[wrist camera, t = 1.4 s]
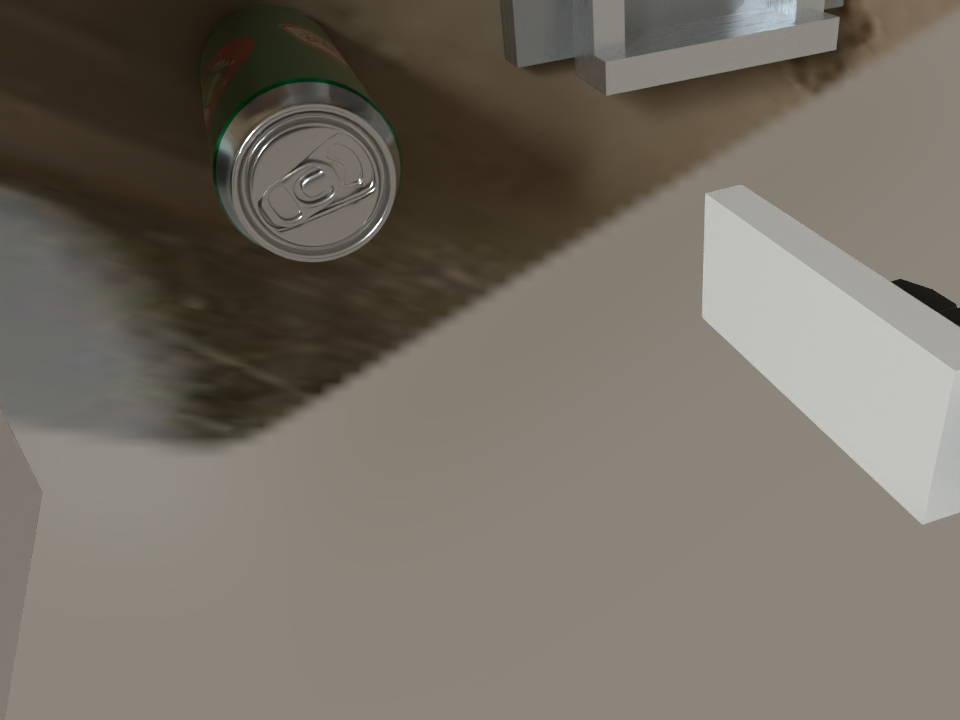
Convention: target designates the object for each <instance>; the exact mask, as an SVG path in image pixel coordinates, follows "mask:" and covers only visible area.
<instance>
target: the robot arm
mask: <svg viewBox="0 0 960 720" xmlns="http://www.w3.org/2000/svg"><path fill="white" fill-rule="evenodd" d="M704 226H705V227H704V261H703V299H702V301H703V302H702V317H703V318H704V319H705V320H706V321H707V322H708V323H709V324H710V325H711V326H712V327H713V328H714V329H715V330H716V331H717V332H718V333H720V334H721V335H722V336H723V337H724V338H725V339H726V340H727V341H728V342H729V343H730V344H731V345H732V346H733V347H734V348H735V349H736V350H737V351H739V352H740V353H741V354H742V355H743V356H744V357H745V358H746V359H747V360H748V361H749V362H750V363H751V364H752V365H753V366H754V367H755V368H757V369H758V370H759V371H760V372H761V373H762V374H763V375H764V376H765V377H766V378H767V379H768V380H769V381H770V382H771V383H772V384H774V385H775V386H776V387H777V388H778V389H779V390H780V391H781V392H782V393H783V394H784V395H785V396H786V397H787V398H788V399H790V401H792V402H793V403H794V404H795V405H796V406H797V407H798V408H799V409H800V410H801V411H802V412H803V413H804V414H805V415H807V417H808V418H810V419H811V420H812V421H813V422H814V423H815V424H816V425H817V426H818V427H819V428H820V429H821V430H822V431H823V432H824V433H825V434H827V435H828V436H829V437H830V438H831V439H832V440H833V441H834V442H835V443H836V444H837V445H838V446H839V447H840V448H841V449H843V451H845V452H846V453H847V454H848V455H849V456H850V457H851V458H852V459H853V460H854V461H855V462H856V463H857V464H858V465H859V466H861V467H862V468H863V469H864V470H865V471H866V472H867V473H868V474H869V475H870V476H871V477H872V478H873V479H874V480H875V481H877V482H878V484H880V485H881V486H882V487H883V488H884V489H885V490H886V491H887V492H888V493H889V494H890V495H891V496H892V497H893V498H894V499H895V500H897V501H898V502H899V503H900V504H901V505H902V506H903V507H904V508H905V509H906V510H907V511H908V512H909V513H910V514H911V515H912V516H913V517H915V518H916V519H917V520H918V521H919V522H920V523H921V524H922V525H923V524H927V523H930V522H933V521H936V520H939V519H942V518H945V517H948V516H951V515H954V514H957V513H960V308H957V306H956V304H955V303H953V302H952V301H950V300H948V299H947V298H945V297H944V296H942V295H940V294H939V293H937V292H936V291H934V290H932V289H929V288H926V287H924V286H920V285H917V284H914V283H911V282H908V281H905V280H902V279H898V280H895V281H891V282H890V281H888V280H887V279H885V278H884V277H882V276H881V275H879V274H878V273H876V272H874V271H873V270H871V269H870V268H868V267H867V266H865V265H864V264H862V263H861V262H859V261H858V260H856V259H855V258H853V257H852V256H850V255H848V254H847V253H845V252H844V251H842V250H841V249H839V248H838V247H836V246H835V245H833V244H832V243H830V242H828V241H827V240H825V239H824V238H822V237H821V236H819V235H818V234H816V233H815V232H813V231H812V230H810V229H809V228H807V227H806V226H804V225H803V224H801V223H799V222H798V221H796V220H795V219H793V218H792V217H790V216H789V215H787V214H786V213H784V212H783V211H781V210H780V209H778V208H777V207H775V206H773V205H772V204H770V203H769V202H767V201H766V200H764V199H763V198H761V197H760V196H758V195H757V194H755V193H754V192H752V191H751V190H749V189H747V188H746V187H744V186H743V185H738V186H733V187H729V188H725V189H721V190H717V191H712V192H708V193H706V194H705V225H704ZM41 497H42V490H41V489H40V486H39V484H38V482H37V480H36V478H35V476H34V474H33V472H32V470H31V468H30V467H29V464H28V462H27V460H26V458H25V456H24V454H23V452H22V450H21V448H20V446H19V444H18V442H17V440H16V438H15V436H14V434H13V432H12V430H11V428H10V426H9V424H8V422H7V420H6V418H5V416H4V414H3V412H2V410H1V408H0V720H5V716H6V709H7V703H8V697H9V691H10V684H11V679H12V673H13V667H14V661H15V655H16V649H17V643H18V637H19V631H20V625H21V619H22V613H23V607H24V600H25V594H26V588H27V582H28V576H29V570H30V564H31V558H32V551H33V546H34V540H35V534H36V528H37V522H38V516H39V509H40V503H41Z"/></svg>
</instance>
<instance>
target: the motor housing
mask: <svg viewBox="0 0 960 720" xmlns="http://www.w3.org/2000/svg"><path fill="white" fill-rule="evenodd" d="M843 2H844V0H501V12H502V24H503V35H504V47H505V58H506V60H508V61H509V62H510V63H512V64H513V65H515V66H516V67H517V68H520V67H525V66H531V65H536V64H541V63H546V62H552V61H557V60H562V59H567V58H573V57H575V76H577V77H579V78H580V79H582V80H583V81H585V82H586V83H588V84H589V85H591V86H592V87H594V88H595V89H597V90H598V91H600V92H601V93H603V94H604V95H606V96H608V95H613V94H618V93H623V92H628V91H633V90H638V89H643V88H648V87H653V86H658V85H663V84H668V83H673V82H678V81H683V80H688V79H693V78H698V77H703V76H708V75H713V74H718V73H723V72H728V71H733V70H738V69H743V68H748V67H753V66H758V65H763V64H768V63H773V62H778V61H783V60H788V59H793V58H798V57H803V56H808V55H813V54H818V53H823V52H828V51H833V50H836V47H837V37H838V28H839V19H840V17H838V16H835V15H832V14H829V13H825V12H824V10H825V9H830V8H835V7H841V6H843Z"/></svg>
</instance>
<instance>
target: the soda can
mask: <svg viewBox="0 0 960 720" xmlns="http://www.w3.org/2000/svg"><path fill="white" fill-rule="evenodd" d="M199 76H200V87H201V94H202V102H203V109H204V116H205V124H206V131H207V139H208V146H209V154H210V161H211V168H212V176H213V183H214V187H215V191H216V195H217V198H218V200H219V203H220V205H221V207H222V209H223V211H224V213H225V214H226V216H227V217H228V219H229V221H230V222H231V223H232V224H233V226H234V227H235V228H236V229H237V230H238V231H239V232H240V233H241V234H242V235H243V236H244V237H246V238H247V239H248V240H249V241H251V242H252V243H254V244H255V245H257V246H259V247H261V248H262V249H264V250H266V251H269V252H271V253H274V254H276V255H279V256H282V257H284V258H287V259H291V260H296V261H302V262H324V261H329V260H334V259H338V258H340V257H343V256H346V255H348V254H350V253H352V252H354V251H356V250H358V249H359V248H361V247H362V246H363V245H365V244H366V243H368V242H369V241H370V240H371V239H372V238H373V237H374V236H375V235H376V234H377V233H378V231H379V230H380V229H381V227H382V226H383V225H384V223H385V221H386V220H387V218H388V216H389V214H390V211H391V209H392V208H393V206H394V204H395V201H396V198H397V195H398V193H399V189H400V184H401V178H402V160H401V152H400V147H399V144H398V141H397V137H396V135H395V133H394V131H393V129H392V127H391V125H390V123H389V121H388V120H387V118H386V117H385V116H384V114H383V113H382V111H381V110H380V109H379V107H378V106H377V104H376V103H375V102H374V100H373V99H372V97H371V96H370V95H369V93H368V92H367V90H366V89H365V88H364V86H363V85H362V83H361V82H360V81H359V79H358V78H357V76H356V75H355V74H354V72H353V71H352V69H351V68H350V67H349V65H348V64H347V62H346V61H345V60H344V58H343V57H342V55H341V54H340V52H339V51H338V50H337V48H336V47H335V45H334V44H333V43H332V41H331V40H330V38H329V37H328V36H327V34H326V33H325V32H324V31H323V30H322V29H321V28H320V27H319V25H318V24H316V23H315V22H314V21H312V20H311V19H310V18H309V17H307V16H305V15H303V14H301V13H300V12H298V11H295V10H292V9H290V8H287V7H281V6H276V5H260V6H253V7H249V8H246V9H243V10H240V11H238V12H236V13H234V14H232V15H231V16H229V17H228V18H227V19H225V20H224V21H223V22H221V23H220V24H219V26H218V27H217V28H216V29H215V30H214V31H213V33H212V34H211V36H210V37H209V39H208V40H207V42H206V45H205V47H204V49H203V52H202V56H201V60H200V70H199Z"/></svg>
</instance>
